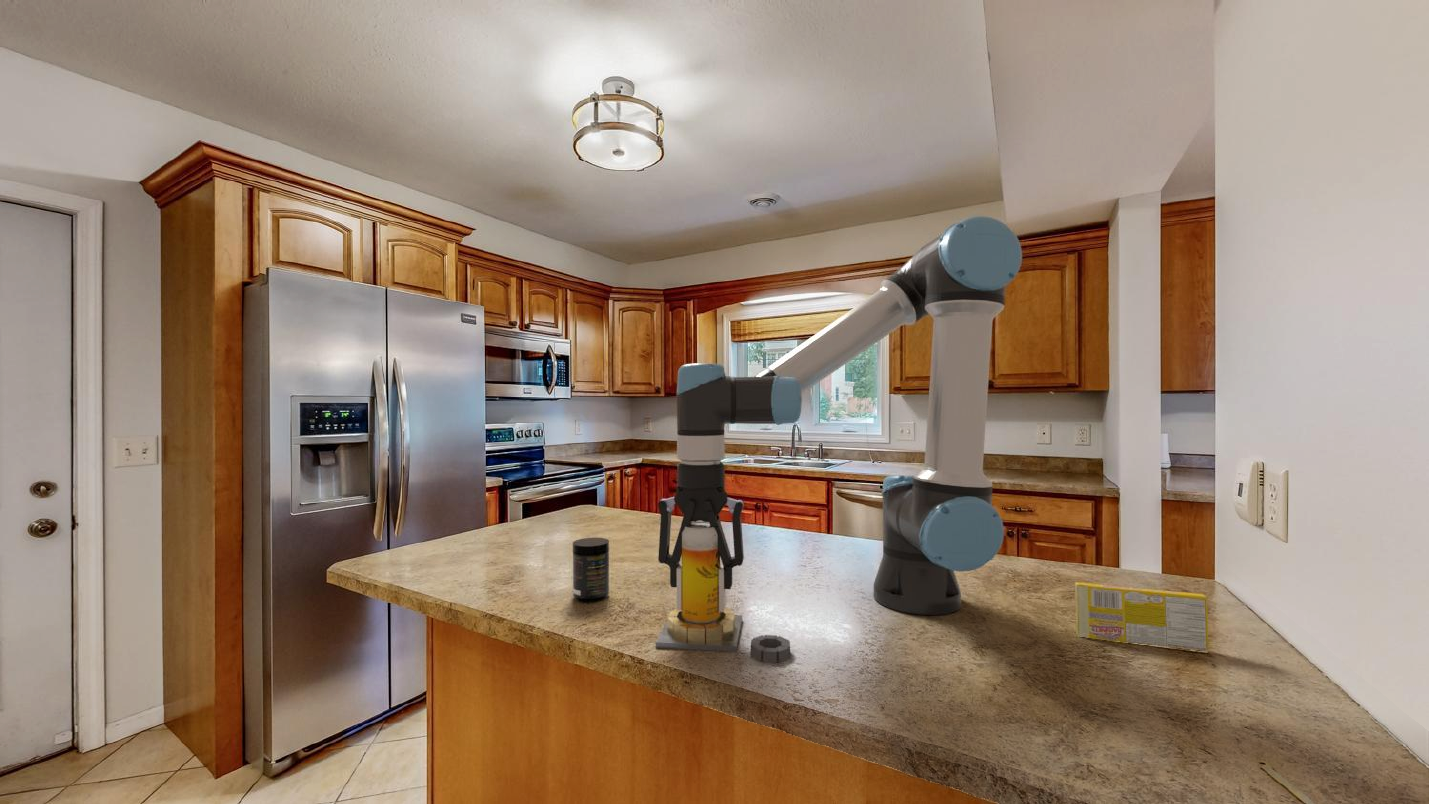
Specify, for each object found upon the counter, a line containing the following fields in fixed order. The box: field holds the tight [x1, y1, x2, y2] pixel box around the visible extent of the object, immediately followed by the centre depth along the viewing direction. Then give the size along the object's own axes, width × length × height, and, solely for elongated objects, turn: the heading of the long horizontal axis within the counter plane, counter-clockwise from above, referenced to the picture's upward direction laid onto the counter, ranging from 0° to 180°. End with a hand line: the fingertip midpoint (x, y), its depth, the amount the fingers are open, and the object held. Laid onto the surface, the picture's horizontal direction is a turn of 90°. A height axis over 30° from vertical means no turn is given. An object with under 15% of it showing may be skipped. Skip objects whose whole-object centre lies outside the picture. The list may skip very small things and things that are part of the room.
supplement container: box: [572, 537, 610, 604], centre depth 106 cm, size 7×7×10 cm
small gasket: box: [750, 634, 791, 664], centre depth 82 cm, size 6×6×2 cm
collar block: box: [655, 606, 743, 653], centre depth 89 cm, size 12×12×3 cm
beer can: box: [681, 521, 721, 625], centre depth 89 cm, size 6×6×15 cm
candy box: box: [1074, 582, 1210, 652], centre depth 85 cm, size 16×2×8 cm, turn 68°
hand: (701, 607), depth 89 cm, fingers closed on beer can, 6 cm apart
